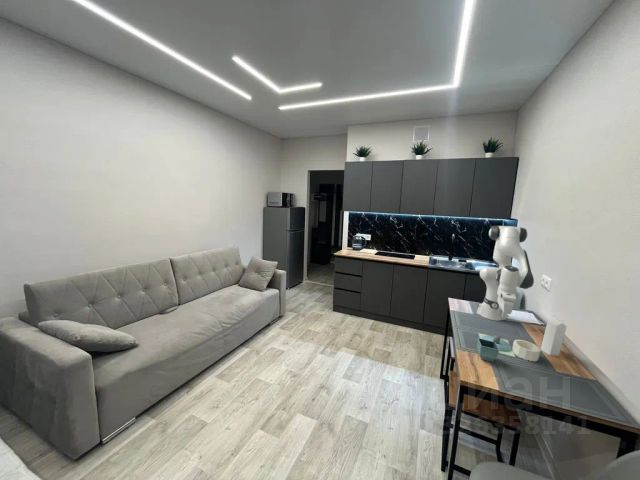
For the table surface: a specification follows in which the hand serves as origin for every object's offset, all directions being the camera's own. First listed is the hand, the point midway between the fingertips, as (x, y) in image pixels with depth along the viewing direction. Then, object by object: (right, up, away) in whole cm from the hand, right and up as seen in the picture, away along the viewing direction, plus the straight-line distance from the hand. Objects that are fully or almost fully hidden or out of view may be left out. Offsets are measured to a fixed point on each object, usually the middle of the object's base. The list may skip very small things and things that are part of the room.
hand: (501, 315), depth 155 cm
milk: (+29, -23, 0) cm, 36 cm away
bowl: (+10, -22, -5) cm, 24 cm away
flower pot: (-17, -21, -11) cm, 29 cm away
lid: (-1, -19, +3) cm, 19 cm away
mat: (-1, -19, +4) cm, 20 cm away
